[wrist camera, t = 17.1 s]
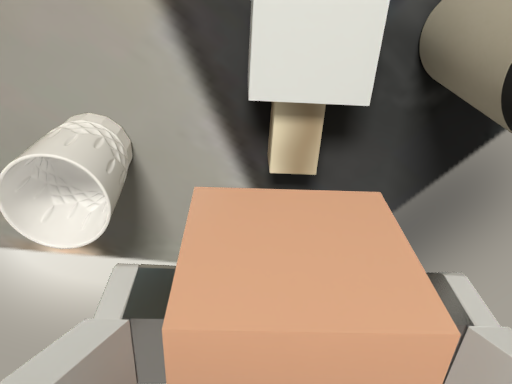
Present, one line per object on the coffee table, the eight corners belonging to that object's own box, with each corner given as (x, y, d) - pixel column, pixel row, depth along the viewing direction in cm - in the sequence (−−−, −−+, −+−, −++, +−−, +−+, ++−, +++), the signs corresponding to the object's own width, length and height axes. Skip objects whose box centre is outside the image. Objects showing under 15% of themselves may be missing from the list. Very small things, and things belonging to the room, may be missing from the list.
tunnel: (247, 78, 36) (248, 100, 31) (252, -28, 32) (254, -23, 27) (351, 83, 37) (369, 106, 32) (368, -21, 33) (392, -14, 28)
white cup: (42, 104, 37) (-19, 153, 28) (134, 106, 37) (101, 155, 29) (60, 184, 41) (11, 248, 32) (143, 185, 41) (117, 249, 33)
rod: (267, 153, 40) (269, 172, 37) (284, -72, 31) (289, -74, 28) (309, 155, 41) (315, 174, 37) (338, -68, 32) (350, -70, 28)
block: (198, 323, 12) (175, 494, 8) (194, 186, 10) (161, 329, 6) (352, 326, 13) (400, 494, 9) (380, 192, 10) (460, 334, 6)
